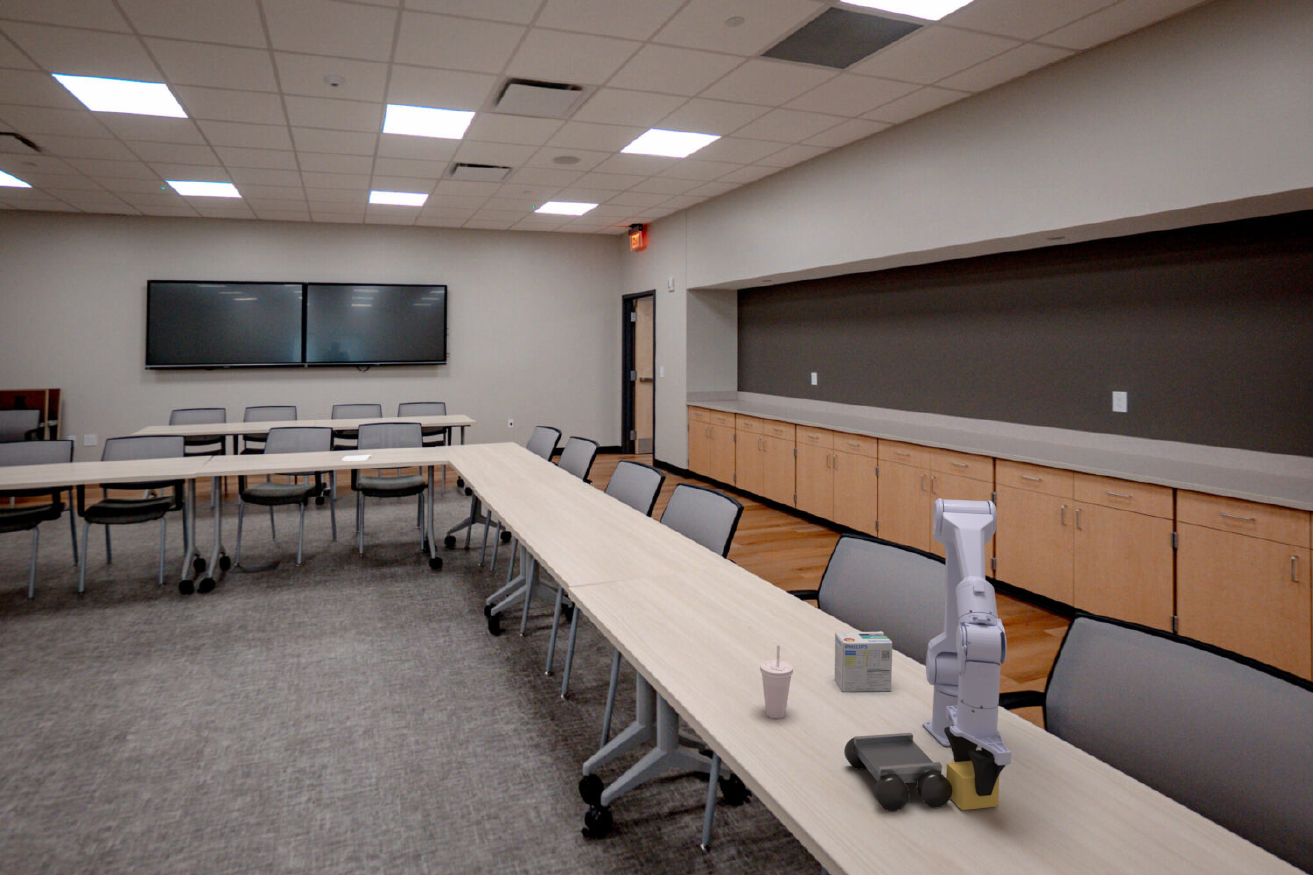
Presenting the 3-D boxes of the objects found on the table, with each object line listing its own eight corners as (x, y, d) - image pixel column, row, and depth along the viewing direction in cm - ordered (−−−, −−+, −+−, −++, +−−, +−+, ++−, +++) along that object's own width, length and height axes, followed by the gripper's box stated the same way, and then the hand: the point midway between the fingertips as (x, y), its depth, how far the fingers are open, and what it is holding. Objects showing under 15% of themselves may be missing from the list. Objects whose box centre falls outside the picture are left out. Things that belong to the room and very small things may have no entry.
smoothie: (767, 723, 138) (768, 652, 136) (753, 708, 144) (755, 639, 142) (798, 719, 139) (799, 648, 138) (783, 704, 146) (785, 636, 144)
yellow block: (980, 789, 116) (981, 759, 115) (998, 805, 111) (999, 774, 111) (945, 793, 115) (946, 762, 114) (962, 809, 110) (963, 778, 110)
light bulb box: (881, 678, 158) (883, 630, 157) (892, 692, 151) (894, 642, 150) (832, 678, 158) (833, 630, 157) (841, 692, 151) (842, 642, 150)
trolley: (910, 760, 125) (911, 727, 124) (951, 806, 112) (953, 769, 111) (843, 765, 123) (844, 732, 123) (877, 812, 110) (879, 775, 110)
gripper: (929, 681, 118) (926, 760, 120) (980, 725, 104) (976, 814, 105) (970, 678, 119) (966, 757, 120) (1026, 721, 105) (1021, 810, 106)
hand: (973, 784), depth 113 cm, fingers open, 5 cm apart
